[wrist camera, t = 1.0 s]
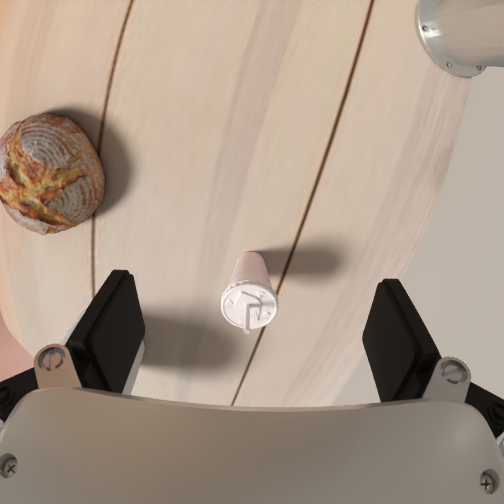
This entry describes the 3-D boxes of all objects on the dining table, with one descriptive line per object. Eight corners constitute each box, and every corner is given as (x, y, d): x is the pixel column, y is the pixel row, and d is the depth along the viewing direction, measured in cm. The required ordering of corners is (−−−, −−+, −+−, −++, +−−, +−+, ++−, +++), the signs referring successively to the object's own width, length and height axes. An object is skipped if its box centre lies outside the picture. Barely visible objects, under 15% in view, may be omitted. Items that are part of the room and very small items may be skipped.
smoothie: (265, 236, 41) (269, 302, 28) (280, 275, 44) (289, 348, 31) (219, 251, 42) (205, 320, 30) (237, 288, 45) (231, 362, 32)
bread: (108, 232, 42) (77, 272, 33) (10, 204, 39) (-27, 234, 31) (120, 120, 34) (80, 138, 25) (11, 106, 31) (-36, 122, 22)
